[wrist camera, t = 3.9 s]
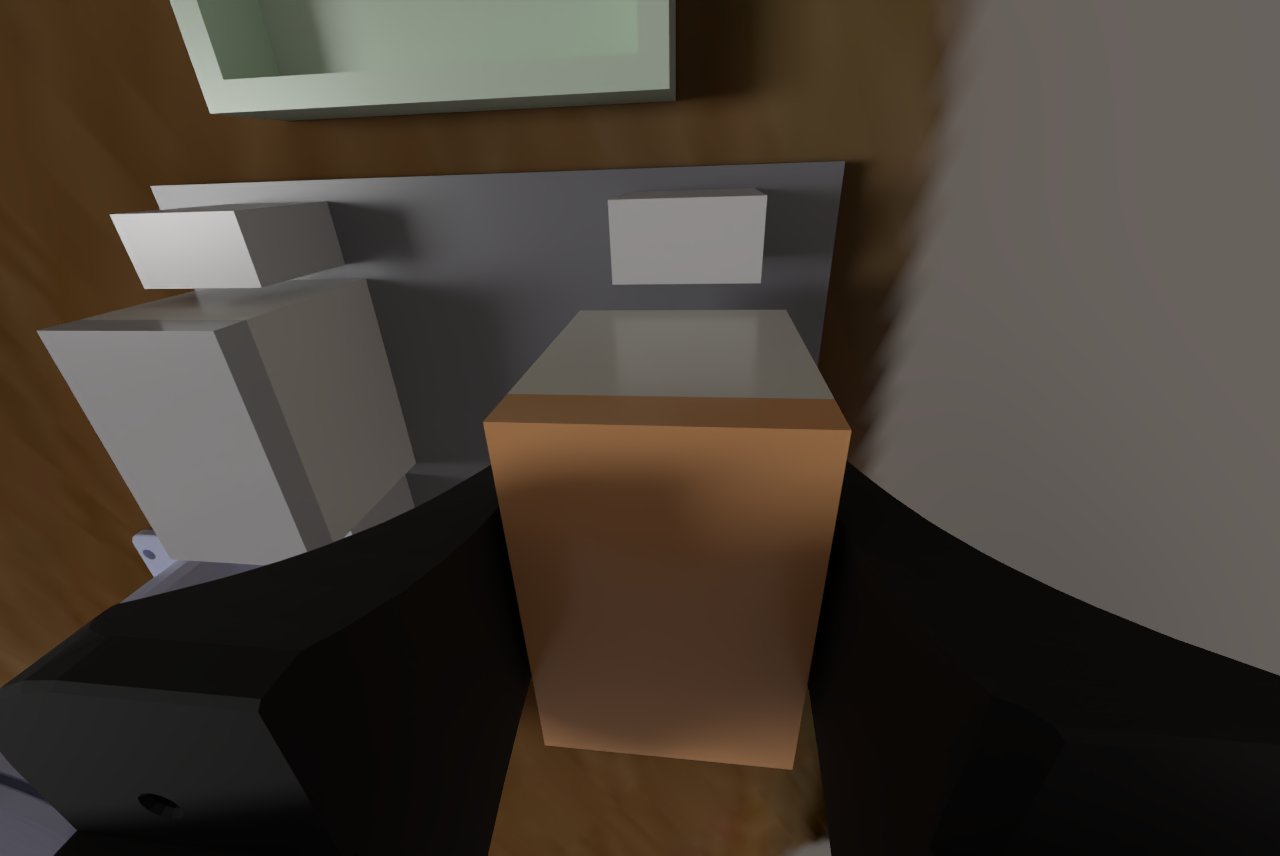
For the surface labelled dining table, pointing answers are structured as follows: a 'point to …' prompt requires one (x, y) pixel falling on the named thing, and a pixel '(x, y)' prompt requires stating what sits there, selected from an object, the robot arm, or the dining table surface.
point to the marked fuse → (671, 529)
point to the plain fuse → (243, 414)
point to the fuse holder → (502, 268)
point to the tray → (426, 55)
